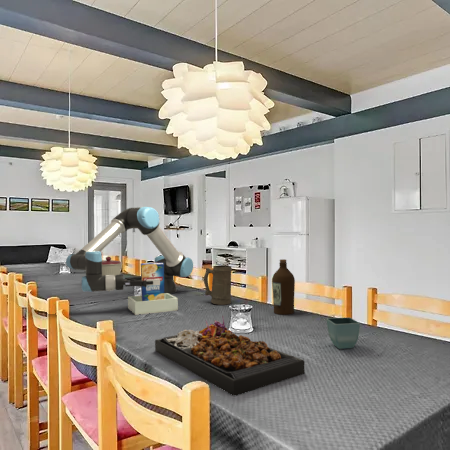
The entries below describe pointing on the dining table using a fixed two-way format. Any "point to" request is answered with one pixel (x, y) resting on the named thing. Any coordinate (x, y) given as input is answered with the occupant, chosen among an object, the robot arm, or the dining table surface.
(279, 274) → the brown bottle
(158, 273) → the beverage box
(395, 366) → the dining table surface
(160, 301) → the box
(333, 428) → the dining table surface
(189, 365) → the food platter
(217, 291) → the beer stein
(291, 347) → the dining table surface
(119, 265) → the canister
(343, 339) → the flower pot
